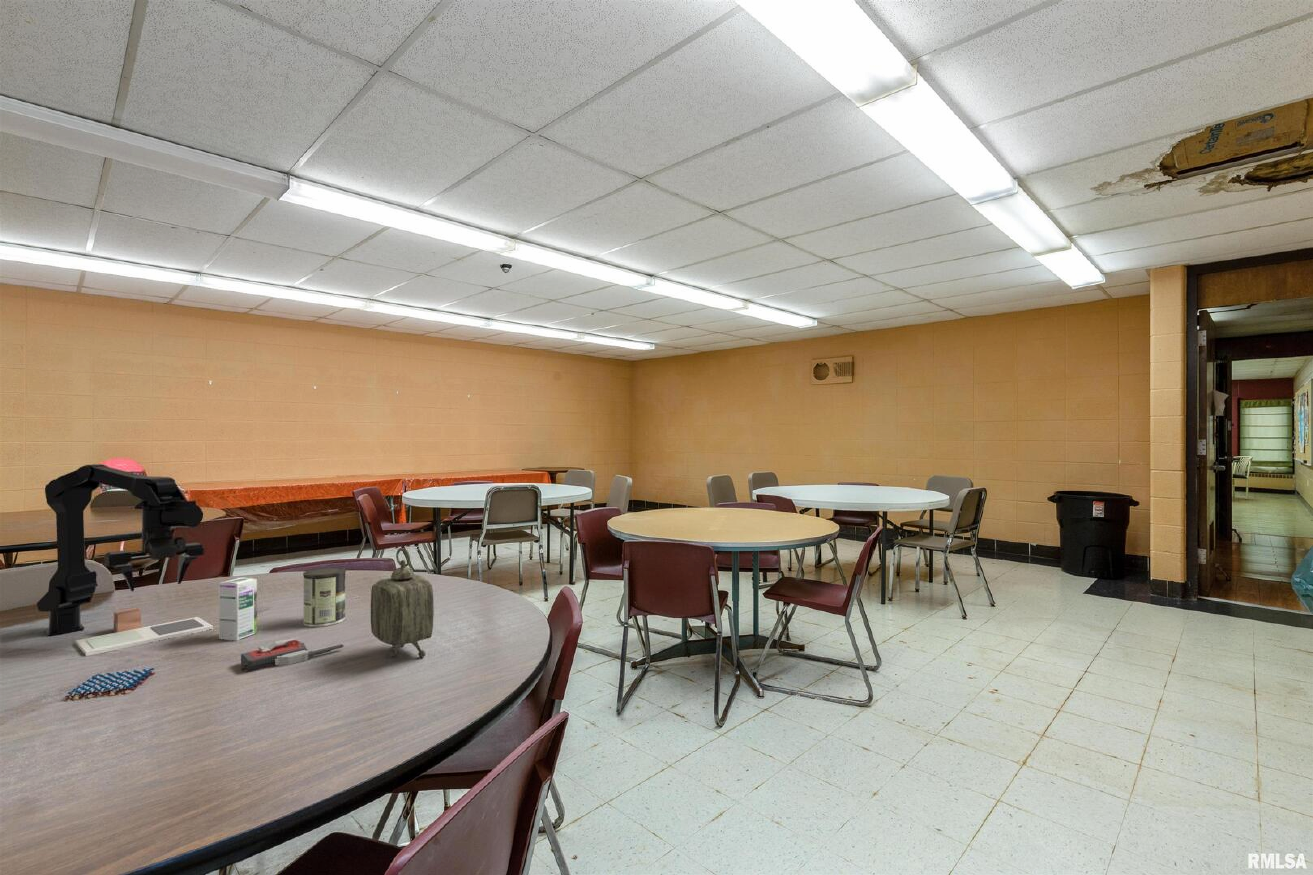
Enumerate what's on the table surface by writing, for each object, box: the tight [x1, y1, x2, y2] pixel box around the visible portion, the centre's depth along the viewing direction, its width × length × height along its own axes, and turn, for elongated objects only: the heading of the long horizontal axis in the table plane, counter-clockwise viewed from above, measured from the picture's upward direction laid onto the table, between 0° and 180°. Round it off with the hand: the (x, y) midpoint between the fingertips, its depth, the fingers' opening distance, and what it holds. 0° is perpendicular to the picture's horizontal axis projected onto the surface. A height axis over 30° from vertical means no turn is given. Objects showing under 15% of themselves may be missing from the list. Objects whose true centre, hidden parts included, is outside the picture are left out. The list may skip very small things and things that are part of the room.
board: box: [75, 616, 214, 657], centre depth 145 cm, size 13×24×1 cm, turn 143°
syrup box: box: [218, 576, 258, 642], centre depth 145 cm, size 6×6×14 cm
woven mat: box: [65, 667, 156, 702], centre depth 116 cm, size 10×11×2 cm
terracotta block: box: [113, 607, 142, 633], centre depth 149 cm, size 4×4×5 cm
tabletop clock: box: [370, 547, 435, 658], centre depth 134 cm, size 14×9×25 cm, turn 47°
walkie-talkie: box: [240, 637, 344, 673], centre depth 131 cm, size 9×4×20 cm
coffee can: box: [302, 566, 347, 628], centre depth 158 cm, size 10×10×14 cm
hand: (156, 587), depth 146 cm, fingers open, 9 cm apart
